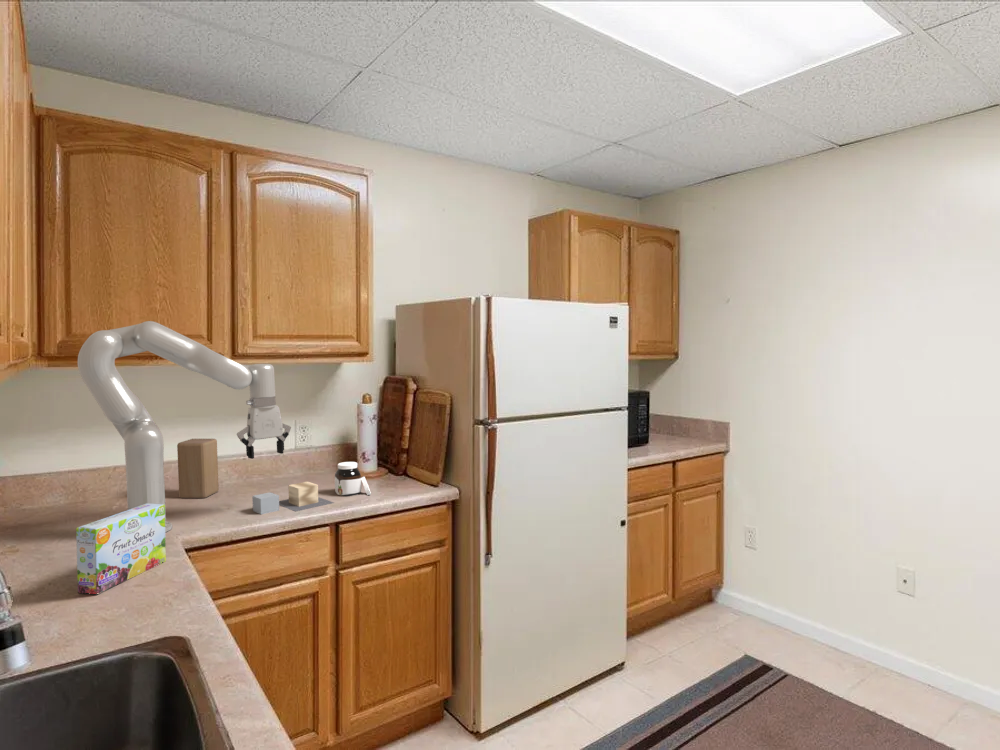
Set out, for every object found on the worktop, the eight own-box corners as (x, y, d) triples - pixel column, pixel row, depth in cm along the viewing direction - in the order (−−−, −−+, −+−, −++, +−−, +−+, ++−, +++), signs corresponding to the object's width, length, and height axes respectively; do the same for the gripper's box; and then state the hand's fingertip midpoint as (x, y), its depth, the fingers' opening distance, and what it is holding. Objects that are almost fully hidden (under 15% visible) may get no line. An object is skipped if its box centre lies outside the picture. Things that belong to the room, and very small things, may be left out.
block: (193, 491, 224) (191, 438, 223) (219, 491, 223) (217, 438, 222) (178, 498, 214) (175, 442, 213) (205, 498, 213) (203, 442, 212)
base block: (298, 506, 199) (298, 488, 198) (288, 502, 204) (288, 485, 203) (318, 502, 204) (317, 484, 203) (308, 498, 209) (307, 481, 208)
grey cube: (261, 517, 190) (260, 499, 190) (253, 514, 194) (252, 495, 194) (279, 513, 195) (278, 495, 194) (271, 510, 199) (270, 492, 198)
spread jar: (332, 495, 218) (331, 463, 217) (360, 489, 225) (359, 458, 224) (347, 501, 208) (346, 468, 208) (376, 495, 216) (375, 463, 215)
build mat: (295, 514, 193) (295, 511, 193) (272, 505, 204) (272, 502, 204) (334, 505, 203) (334, 502, 203) (310, 497, 214) (310, 494, 214)
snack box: (98, 596, 132) (95, 528, 131) (76, 594, 133) (73, 527, 132) (168, 561, 153) (165, 502, 152) (148, 560, 154) (146, 501, 153)
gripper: (240, 406, 184) (243, 461, 185) (294, 400, 196) (296, 452, 197) (230, 404, 189) (233, 458, 190) (283, 399, 201) (286, 450, 202)
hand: (265, 455), depth 194 cm, fingers open, 9 cm apart
